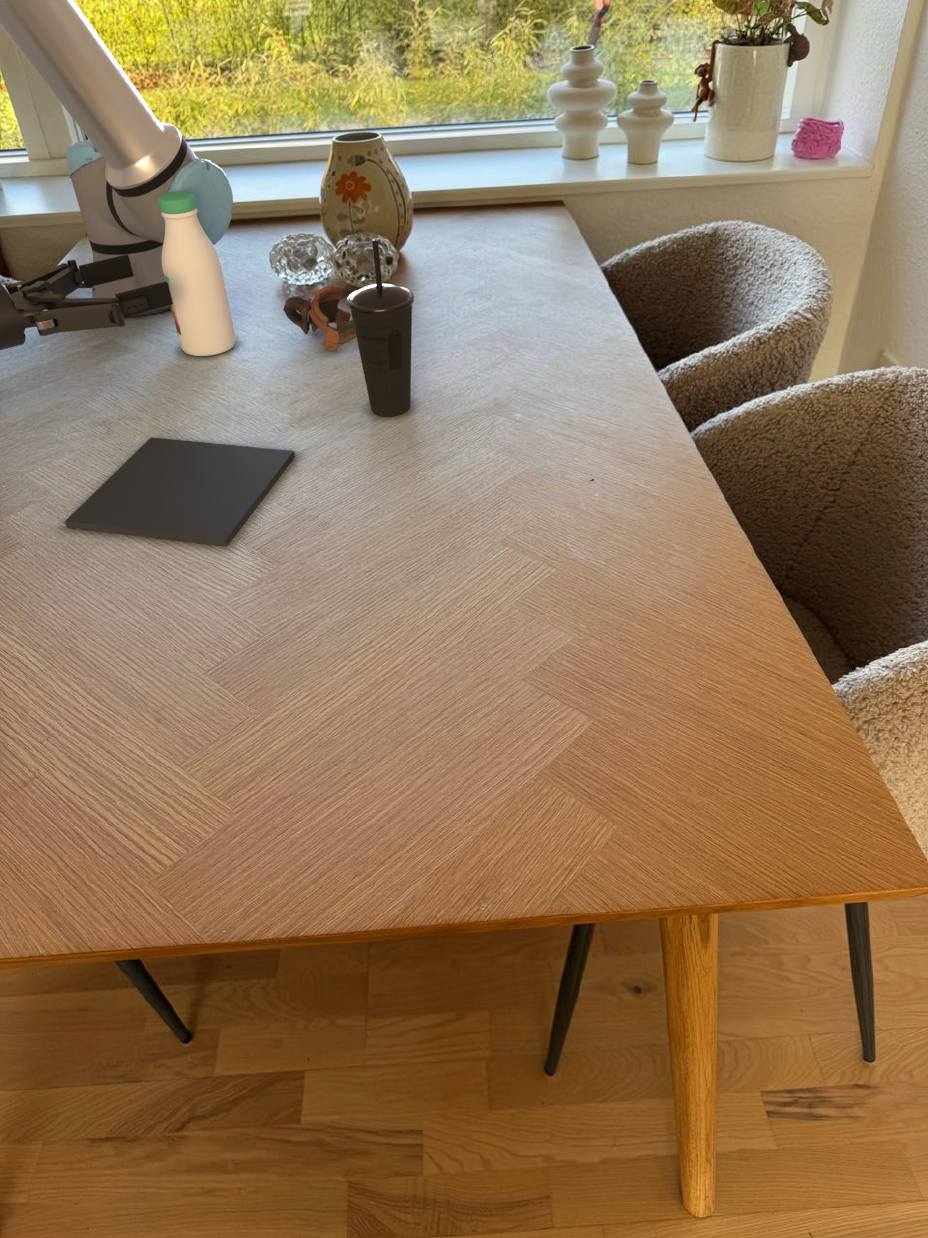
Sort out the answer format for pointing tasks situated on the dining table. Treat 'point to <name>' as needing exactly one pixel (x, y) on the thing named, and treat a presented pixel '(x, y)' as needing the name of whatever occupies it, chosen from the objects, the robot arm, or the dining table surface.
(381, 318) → the drinking cup
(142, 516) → the slate mat
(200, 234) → the milk bottle
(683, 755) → the dining table surface
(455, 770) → the dining table surface
